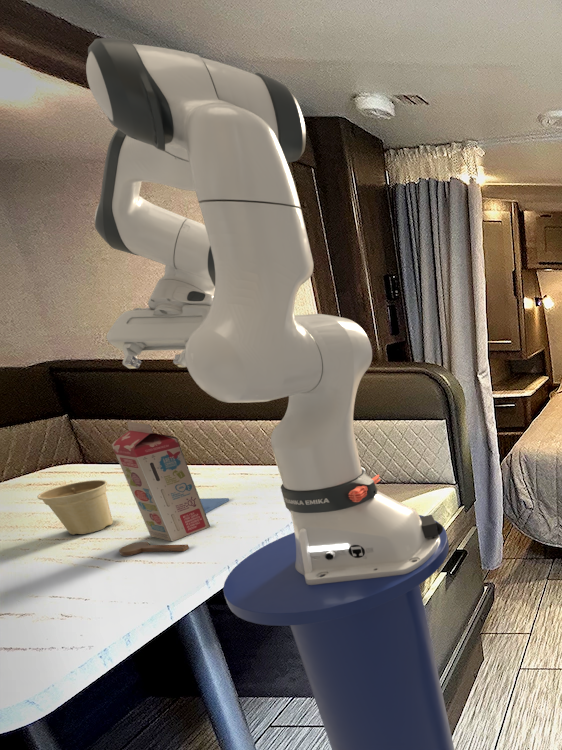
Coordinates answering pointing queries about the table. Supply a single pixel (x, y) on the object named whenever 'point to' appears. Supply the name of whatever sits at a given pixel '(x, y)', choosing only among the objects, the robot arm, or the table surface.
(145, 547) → the wooden spoon
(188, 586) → the table surface
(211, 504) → the cloth
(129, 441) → the juice carton
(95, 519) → the flower pot
